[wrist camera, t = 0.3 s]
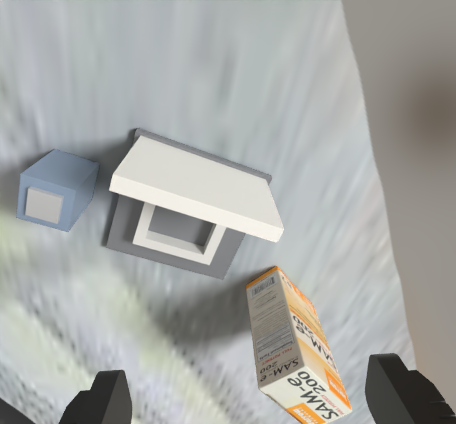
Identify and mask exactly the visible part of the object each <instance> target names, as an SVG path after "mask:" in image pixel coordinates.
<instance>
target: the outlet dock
mask: <svg viewBox="0 0 456 424" xmlns="http://www.w3.org/2000/svg"><path fill="white" fill-rule="evenodd" d="M271 180H272V177H271V175H268V174H266V173H263V172H260V171H257V170H254V169H252V168H249V167H246V166H243V165H240V164H238V163H235V162H232V161H229V160H226V159H224V158H221V157H218V156H215V155H212V154H210V153H207V152H204V151H201V150H199V149H196V148H193V147H190V146H187V145H185V144H182V143H179V142H176V141H173V140H171V139H168V138H165V137H162V136H159V135H157V134H154V133H151V132H148V131H145V130H143V129H140V128H137V130H136V132H135V136H134V140H133V144H132V148H131V150H130V151H129V153H128V154H127V155H126V157H125V158H124V159H123V161H122V162H121V164H120V165H119V166H118V168H117V169H116V171H115V172H114V173H113V176H112V180H111V184H110V188H109V191H112V192H116V193H119V194H120V195H119V198H118V202H117V206H116V210H115V214H114V218H113V222H112V226H111V230H110V234H109V237H108V241H107V245H106V248H109V249H113V250H117V251H120V252H124V253H128V254H131V255H135V256H139V257H142V258H146V259H149V260H153V261H157V262H160V263H164V264H168V265H171V266H175V267H179V268H182V269H186V270H189V271H193V272H197V273H200V274H204V275H208V276H211V277H215V278H219V279H222V280H223V279H224V277H225V275H226V273H227V271H228V269H229V267H230V265H231V263H232V261H233V259H234V256H235V254H236V252H237V250H238V248H239V246H240V244H241V242H242V240H243V238H244V236H245V234H246V233H247V234H250V235H254V236H257V237H260V238H263V239H267V240H270V241H273V242H276V243H277V242H278V240H279V238H280V237H281V235H282V233H283V231H284V227H283V224H282V222H281V219H280V216H279V213H278V211H277V208H276V205H275V203H274V200H273V197H272V194H271V192H270V189H269V184H270V182H271Z"/></svg>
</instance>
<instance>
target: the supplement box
mask: <svg viewBox="0 0 456 424" xmlns="http://www.w3.org/2000/svg"><path fill="white" fill-rule="evenodd" d="M246 292H247V300H248V308H249V316H250V323H251V332H252V340H253V348H254V357H255V365H256V373H257V381H258V388H259V390H260V391H261V392H263V393H264V394H265V395H267V396H268V397H269V398H270V399H271V400H273V401H274V402H275V403H276V404H277V405H278V406H280V407H281V408H282V409H283V410H285V411H286V412H287V413H288V414H290V415H291V416H292V417H293V418H294V419H296V420H297V421H298V422H299V423H301V424H327V423H329V422H332V421H334V420H336V419H339V418H341V417H343V416H345V415H347V414H349V413H351V412H352V408H351V405H350V402H349V400H348V397H347V395H346V392H345V389H344V387H343V384H342V381H341V378H340V376H339V373H338V370H337V368H336V365H335V362H334V360H333V357H332V354H331V352H330V349H329V346H328V343H327V341H326V338H325V335H324V333H323V330H322V327H321V325H320V322H319V319H318V317H317V314H316V311H315V309H314V306H313V305H312V304H311V303H310V301H309V300H308V299H307V298H306V297H305V296H304V295H303V294H302V293H301V292H300V291H299V290H298V289H297V288H296V287H295V286H294V285H293V284H292V283H291V282H290V281H289V279H288V278H287V277H286V276H285V274H284V273H283V272H282V271H281V270H280V269H279V268H278V267H277V266H276V267H274V268H272V269H271V270H269V271H268V272H266V273H265V274H263V275H261V276H260V277H258V278H257V279H255V280H254V281H252V282H251V283H249V284H247V285H246Z"/></svg>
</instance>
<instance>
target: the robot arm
mask: <svg viewBox="0 0 456 424" xmlns="http://www.w3.org/2000/svg"><path fill="white" fill-rule="evenodd" d="M365 395H366V400H367V404H368V407H369V410H370V412H371V414H372V416H373V418H374V421H375V423H376V424H456V416H455V413H454V412H453V411H452V409H451V408H450V406H449V405H448V404H446V402H445V399H444V398H443V397H442V395H441V394H440V392H439V391H438V390H437V388H436V387H435V386H434V384H433V383H432V382H430V381H429V380H428V379H427V378H425V377H424V376H423V375H422V374H421V373H419V372H418V371H417V370H410V371H408V369H407V368H406V366H405V365H404V363H403V362H402V360H401V359H400V357H399V356H398V355H397V354H395V353H390V354H374V355H370V357H369V363H368V370H367V378H366V385H365ZM131 419H132V401H131V397H130V393H129V388H128V384H127V379H126V375H125V372H124V370H112V371H100V372H98V374H97V375H96V377H95V380H94V382H93V384H92V387H91V389H90V390H85V391H80V392H79V393H78V394H77V395H76V397H75V398H74V399H73V400H72V401H71V402H70V403H69V404H68V406H67V407H66V409H65V411H64V413H63V416H62V418H61V420H60V422H59V424H131Z"/></svg>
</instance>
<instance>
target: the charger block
mask: <svg viewBox="0 0 456 424" xmlns="http://www.w3.org/2000/svg"><path fill="white" fill-rule="evenodd" d="M98 169H99V163H96V162H93V161H90V160H87V159H84V158H81V157H78V156H75V155H72V154H69V153H66V152H63V151H60V150H56V149H54V150H53V151H51V152H50V153H49V154H47V155H46V156H44V157H43V158H42V159H40V160H39V161H37V162H36V163H35V164H33V165H32V166H31V167H29V168H28V169H26V170H25V171H24V172H22V173H21V175H20V185H19V195H18V205H17V215H16V218H19V219H22V220H26V221H30V222H33V223H37V224H41V225H44V226H48V227H51V228H55V229H59V230H62V231H66V232H69V230H70V229H71V228H72V226H73V225H74V224H75V222H76V221H77V219H78V218H79V217H80V215H81V214H82V213H83V211H84V210H85V209H86V207H87V206H88V204H89V203H90V202H91V200H92V197H93V192H94V188H95V183H96V178H97V174H98Z"/></svg>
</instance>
